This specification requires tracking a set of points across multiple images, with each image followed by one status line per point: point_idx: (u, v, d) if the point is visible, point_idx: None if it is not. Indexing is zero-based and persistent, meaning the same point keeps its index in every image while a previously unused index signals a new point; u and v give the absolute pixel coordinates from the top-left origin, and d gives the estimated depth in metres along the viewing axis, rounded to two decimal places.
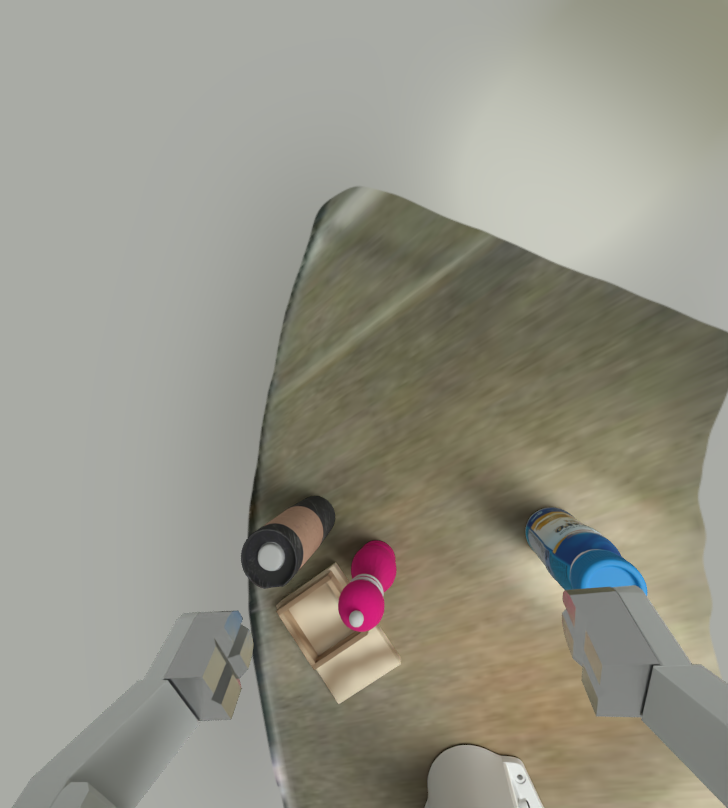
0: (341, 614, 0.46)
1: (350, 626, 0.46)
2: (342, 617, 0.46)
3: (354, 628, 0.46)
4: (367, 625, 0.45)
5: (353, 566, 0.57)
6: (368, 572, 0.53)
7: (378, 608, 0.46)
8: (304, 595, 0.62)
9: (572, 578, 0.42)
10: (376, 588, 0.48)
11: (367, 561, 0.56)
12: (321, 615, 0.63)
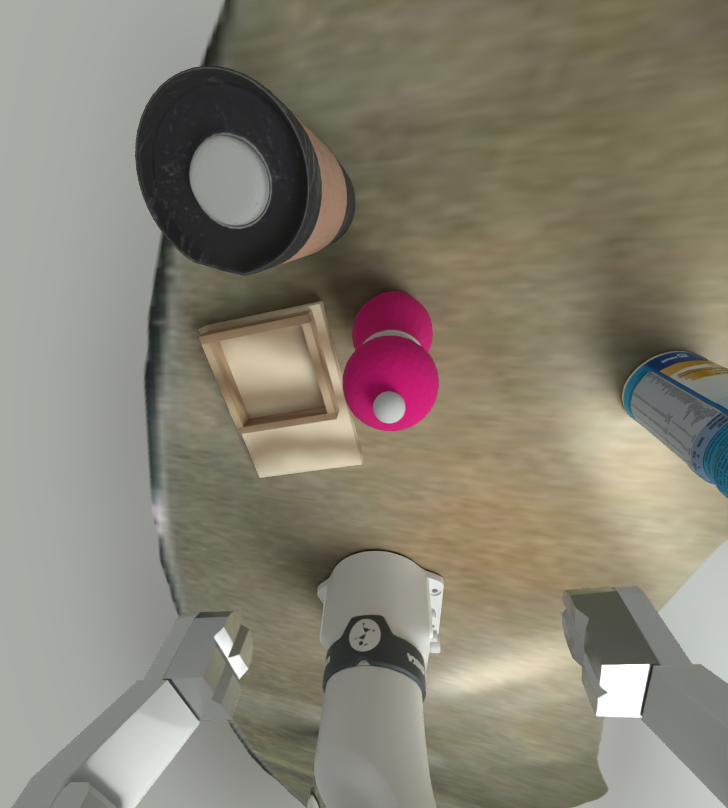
0: (352, 387, 0.21)
1: (362, 414, 0.22)
2: (352, 393, 0.22)
3: (368, 420, 0.22)
4: (397, 424, 0.22)
5: (367, 315, 0.30)
6: None
7: (431, 403, 0.22)
8: (255, 330, 0.35)
9: None
10: (435, 366, 0.23)
11: (399, 316, 0.29)
12: (271, 369, 0.39)
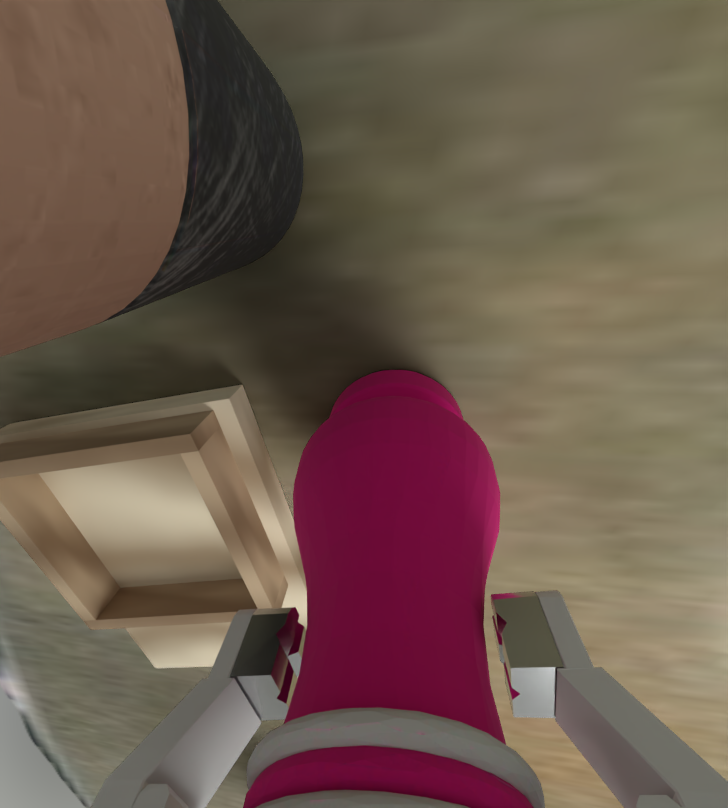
0: None
1: None
2: None
3: None
4: None
5: (325, 479, 0.10)
6: (441, 625, 0.07)
7: None
8: (77, 461, 0.15)
9: None
10: None
11: (419, 509, 0.09)
12: (146, 514, 0.19)
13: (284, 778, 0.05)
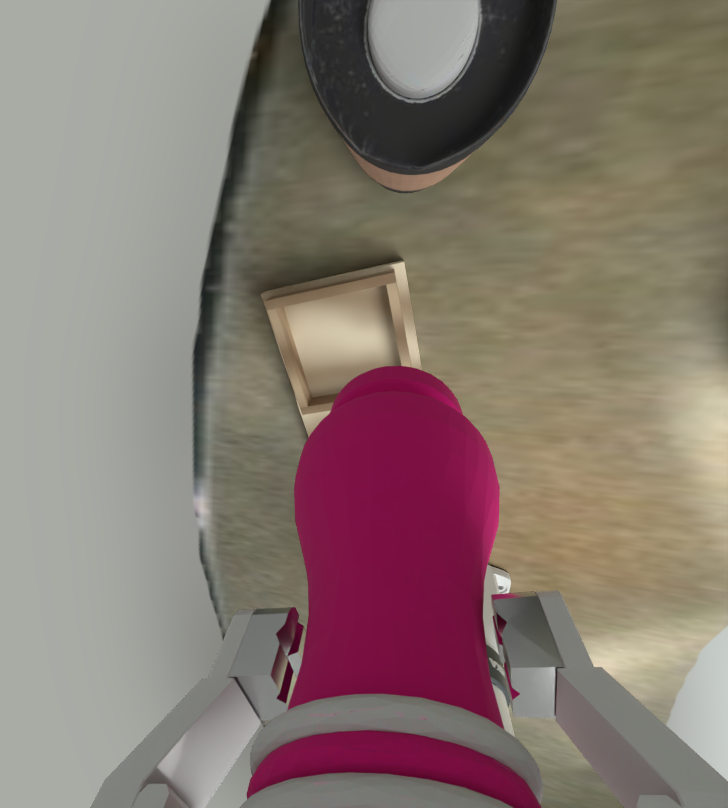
0: None
1: None
2: None
3: None
4: None
5: (326, 473, 0.11)
6: (442, 615, 0.07)
7: None
8: (331, 292, 0.31)
9: None
10: None
11: (420, 502, 0.09)
12: (341, 340, 0.34)
13: (288, 762, 0.05)
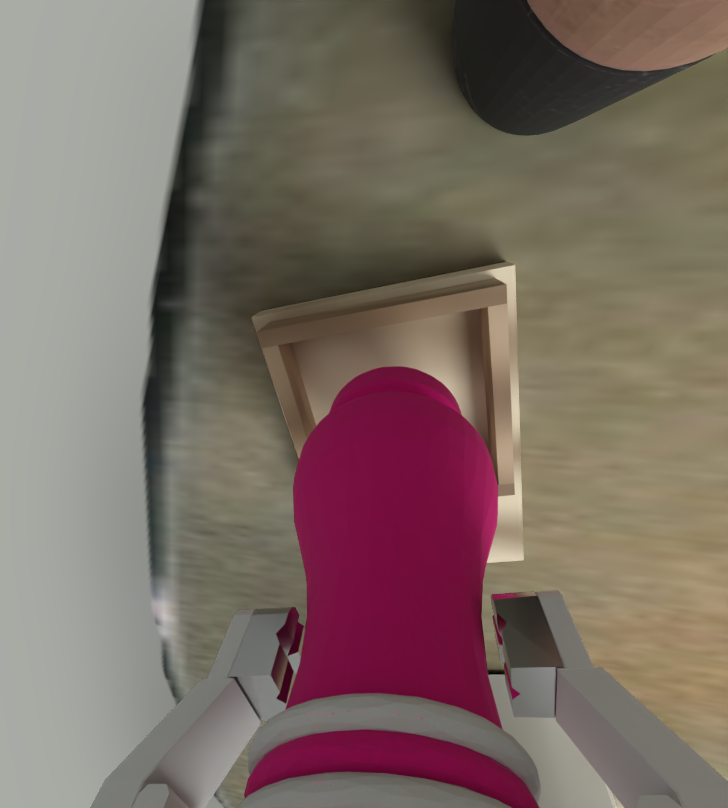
0: None
1: None
2: None
3: None
4: None
5: (325, 473, 0.11)
6: (440, 615, 0.07)
7: None
8: (381, 319, 0.16)
9: None
10: None
11: (419, 502, 0.09)
12: None
13: (286, 761, 0.05)
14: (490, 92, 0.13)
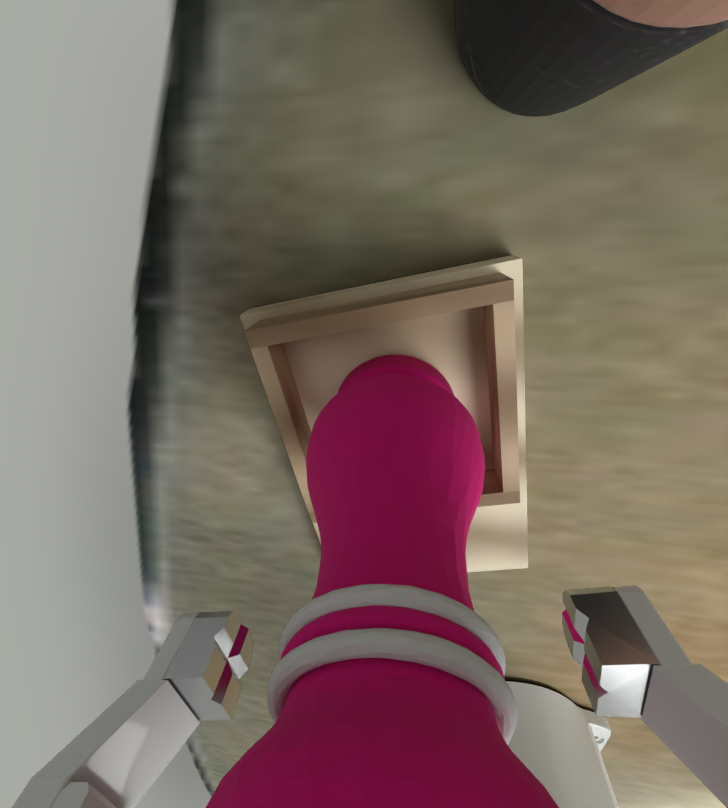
0: None
1: None
2: None
3: None
4: None
5: (335, 440, 0.12)
6: (430, 542, 0.09)
7: None
8: (377, 318, 0.15)
9: None
10: None
11: (414, 461, 0.11)
12: None
13: (312, 630, 0.07)
14: (497, 65, 0.12)
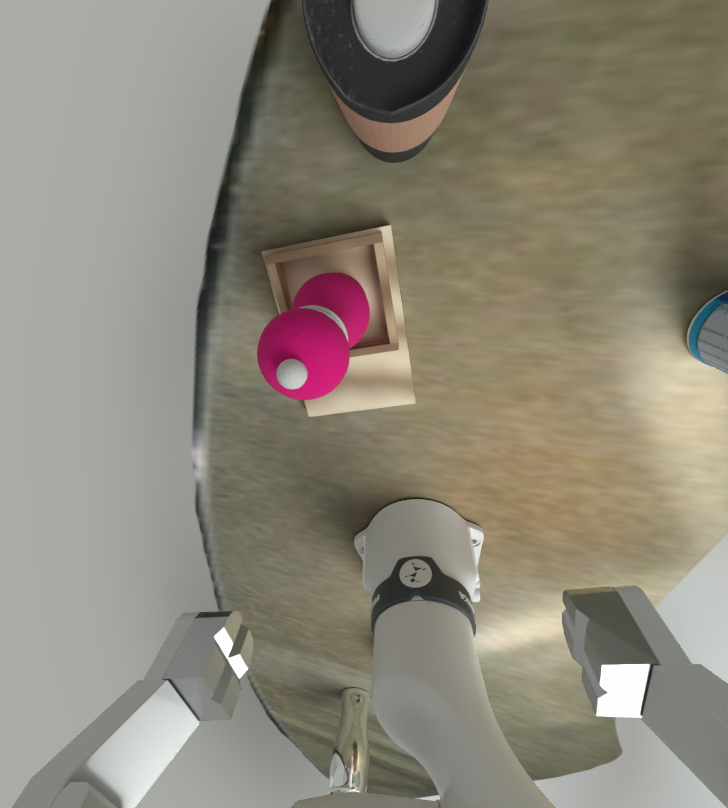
0: (262, 355, 0.23)
1: (272, 381, 0.23)
2: (262, 361, 0.23)
3: (279, 387, 0.23)
4: (305, 392, 0.23)
5: (303, 293, 0.31)
6: (330, 310, 0.28)
7: (338, 374, 0.23)
8: (324, 250, 0.34)
9: None
10: (345, 339, 0.24)
11: (331, 295, 0.30)
12: None
13: None
14: (365, 147, 0.31)
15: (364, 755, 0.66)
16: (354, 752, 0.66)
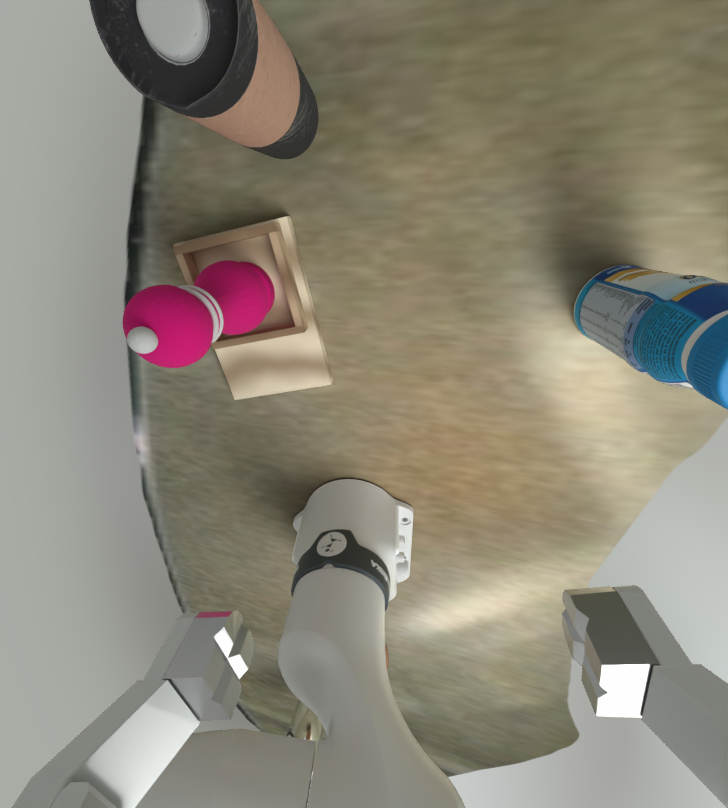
0: (124, 325, 0.26)
1: None
2: (124, 331, 0.26)
3: (142, 355, 0.26)
4: (164, 358, 0.26)
5: (197, 278, 0.35)
6: (211, 291, 0.31)
7: (194, 342, 0.26)
8: (225, 240, 0.37)
9: (713, 334, 0.24)
10: (203, 312, 0.27)
11: (218, 278, 0.33)
12: None
13: None
14: None
15: (316, 735, 0.68)
16: (306, 732, 0.68)
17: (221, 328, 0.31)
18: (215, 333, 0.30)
